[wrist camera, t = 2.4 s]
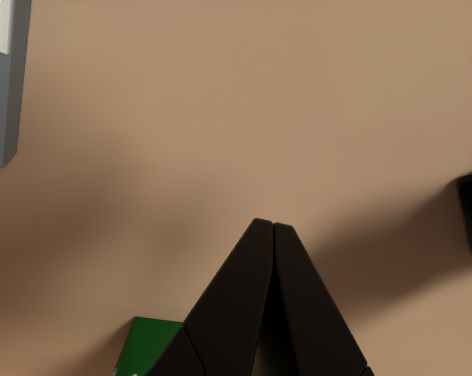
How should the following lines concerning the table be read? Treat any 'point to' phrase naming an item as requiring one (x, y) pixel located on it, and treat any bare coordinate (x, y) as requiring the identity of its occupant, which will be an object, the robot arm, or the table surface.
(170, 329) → the milk carton
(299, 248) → the robot arm
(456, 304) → the table surface
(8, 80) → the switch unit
